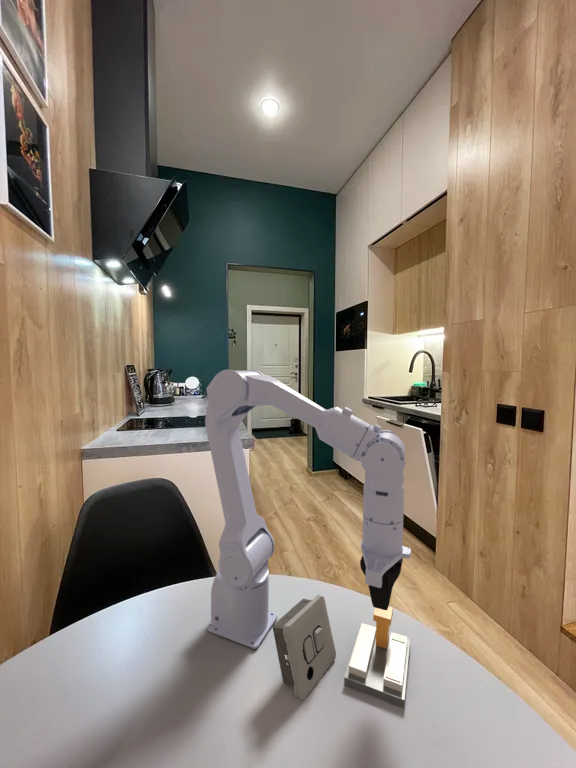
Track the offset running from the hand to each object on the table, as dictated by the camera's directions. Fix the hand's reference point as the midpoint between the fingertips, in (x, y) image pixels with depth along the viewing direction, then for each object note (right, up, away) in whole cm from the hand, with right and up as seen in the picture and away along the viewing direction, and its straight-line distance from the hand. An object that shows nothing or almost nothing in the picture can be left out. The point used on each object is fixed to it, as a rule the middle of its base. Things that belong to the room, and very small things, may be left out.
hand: (380, 605), depth 50 cm
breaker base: (0, -9, +1) cm, 9 cm away
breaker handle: (+1, -8, +3) cm, 9 cm away
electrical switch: (-11, -10, 0) cm, 15 cm away
